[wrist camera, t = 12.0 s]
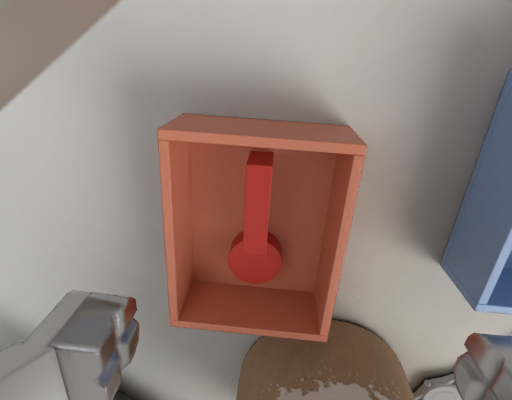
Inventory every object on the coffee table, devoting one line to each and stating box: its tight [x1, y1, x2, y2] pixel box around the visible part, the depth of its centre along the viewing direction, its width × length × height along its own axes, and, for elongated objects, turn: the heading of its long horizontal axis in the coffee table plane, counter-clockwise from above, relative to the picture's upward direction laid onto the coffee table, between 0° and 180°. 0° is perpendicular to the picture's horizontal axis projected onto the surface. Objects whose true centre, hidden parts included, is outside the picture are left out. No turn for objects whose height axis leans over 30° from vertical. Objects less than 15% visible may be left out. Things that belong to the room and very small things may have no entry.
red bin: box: [157, 113, 367, 342], centre depth 22 cm, size 14×11×5 cm
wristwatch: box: [413, 374, 462, 400], centre depth 30 cm, size 4×20×1 cm, turn 137°
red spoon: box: [228, 151, 282, 284], centre depth 23 cm, size 10×4×3 cm, turn 177°
